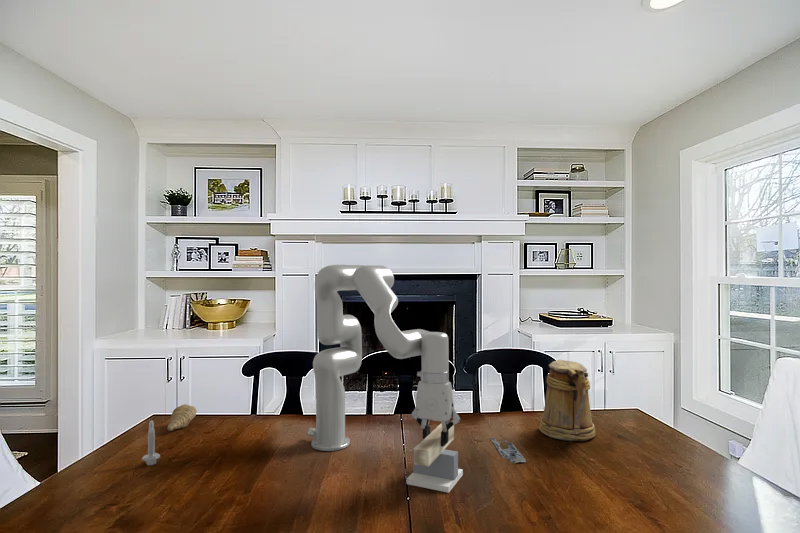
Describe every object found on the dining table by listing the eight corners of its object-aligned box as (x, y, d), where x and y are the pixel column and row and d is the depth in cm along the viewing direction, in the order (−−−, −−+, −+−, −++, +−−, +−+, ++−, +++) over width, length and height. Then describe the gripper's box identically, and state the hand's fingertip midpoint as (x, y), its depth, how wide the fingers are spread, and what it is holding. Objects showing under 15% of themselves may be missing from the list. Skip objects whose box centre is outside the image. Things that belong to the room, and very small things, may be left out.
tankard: (577, 423, 179) (577, 357, 179) (613, 446, 156) (612, 370, 156) (531, 425, 177) (531, 358, 177) (560, 449, 154) (560, 371, 154)
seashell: (183, 435, 167) (183, 412, 167) (159, 435, 167) (159, 412, 167) (198, 422, 181) (198, 401, 181) (176, 423, 181) (176, 402, 181)
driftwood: (528, 465, 142) (528, 458, 142) (505, 466, 141) (505, 459, 141) (509, 442, 162) (509, 435, 162) (490, 442, 162) (490, 436, 162)
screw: (156, 459, 146) (162, 463, 142) (139, 463, 142) (145, 468, 139) (156, 416, 146) (163, 420, 143) (139, 420, 142) (145, 423, 139)
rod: (414, 464, 122) (413, 448, 122) (441, 436, 142) (441, 423, 142) (428, 466, 120) (428, 450, 120) (454, 438, 140) (454, 425, 140)
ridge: (406, 484, 128) (406, 454, 128) (423, 467, 139) (423, 440, 139) (448, 492, 123) (448, 461, 123) (462, 474, 134) (462, 446, 134)
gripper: (401, 377, 132) (402, 443, 131) (460, 382, 125) (460, 453, 124) (412, 372, 139) (413, 435, 138) (468, 377, 131) (469, 443, 131)
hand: (435, 442), depth 131 cm, fingers open, 4 cm apart
